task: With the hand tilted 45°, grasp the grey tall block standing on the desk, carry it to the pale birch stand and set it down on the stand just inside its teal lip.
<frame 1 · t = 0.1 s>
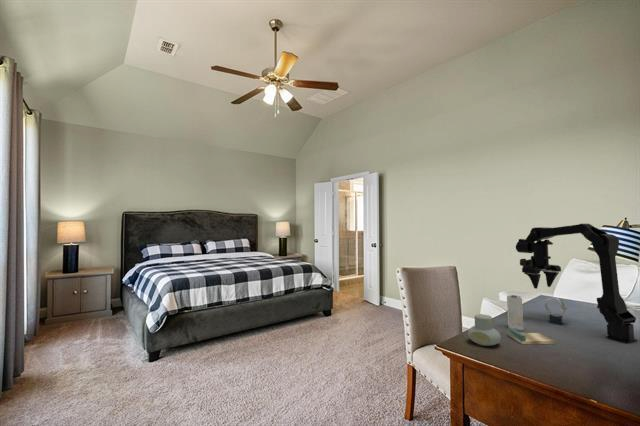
hand: (542, 287, 143), 15 cm above the table, tool pointing down, fingers open, 9 cm apart
air freshener: (484, 343, 115), on the table
watch: (556, 323, 138), on the table
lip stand: (530, 339, 118), on the table
grey tall block: (515, 327, 132), on the table
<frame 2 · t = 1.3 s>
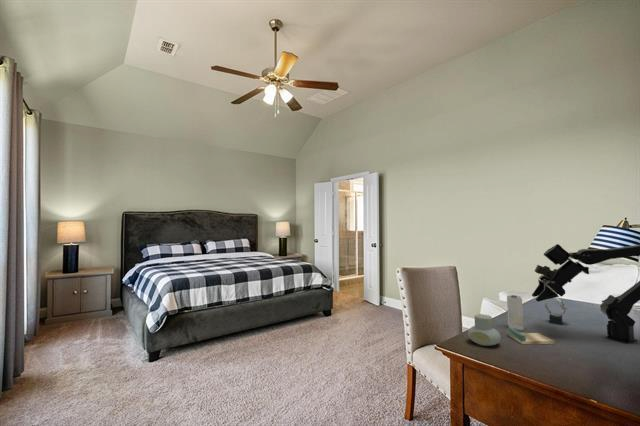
hand: (534, 298, 129), 13 cm above the table, tool tilted 45°, fingers open, 9 cm apart
nothing on the table moved.
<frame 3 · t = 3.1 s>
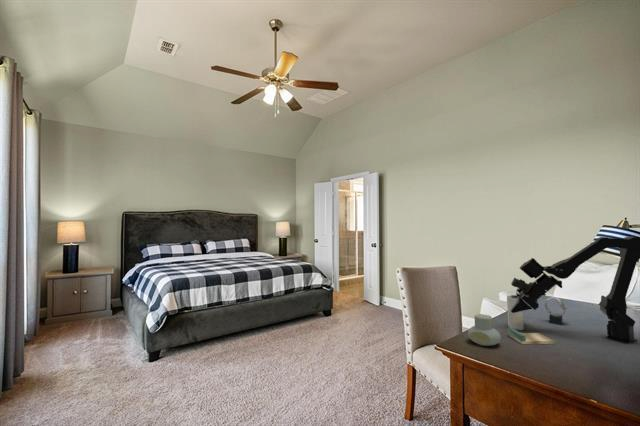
hand: (511, 310, 133), 7 cm above the table, tool tilted 45°, fingers closed on grey tall block, 5 cm apart
grey tall block: (515, 327, 132), on the table, touching gripper
everything else where it was.
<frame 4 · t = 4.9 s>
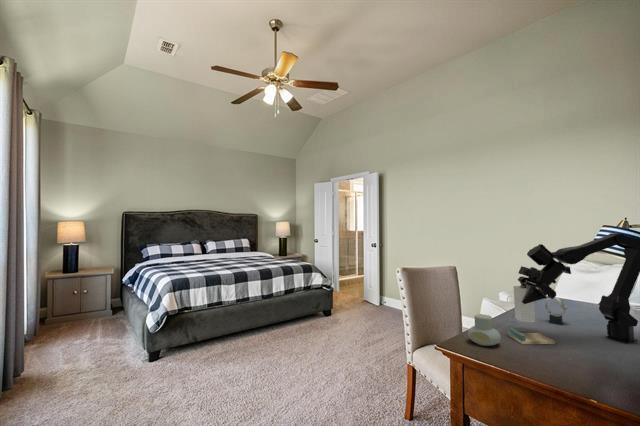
hand: (520, 301, 123), 13 cm above the table, tool tilted 45°, fingers closed on grey tall block, 5 cm apart
grey tall block: (525, 320, 122), point 6 cm above the table, touching gripper
everything else where it was.
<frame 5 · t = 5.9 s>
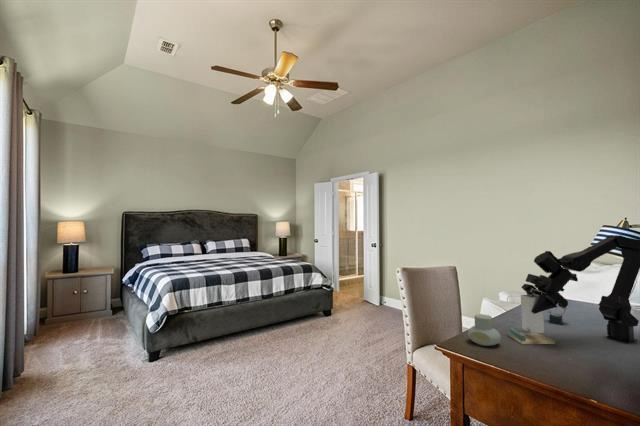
hand: (528, 310, 118), 11 cm above the table, tool tilted 45°, fingers closed on grey tall block, 5 cm apart
grey tall block: (533, 330, 118), point 3 cm above the table, touching gripper
everything else where it was.
when the fingers open (9 cm above the table, at t = 6.6 s): grey tall block stays where it is, resting on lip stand.
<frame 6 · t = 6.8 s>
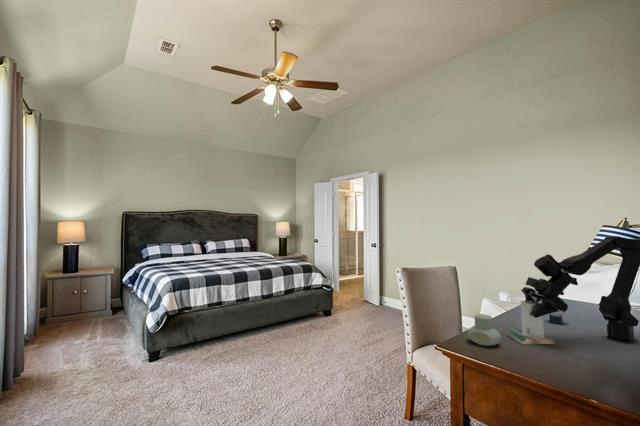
hand: (528, 314, 118), 10 cm above the table, tool tilted 45°, fingers open, 7 cm apart
grey tall block: (533, 336, 118), point 1 cm above the table, touching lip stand
everything else where it was.
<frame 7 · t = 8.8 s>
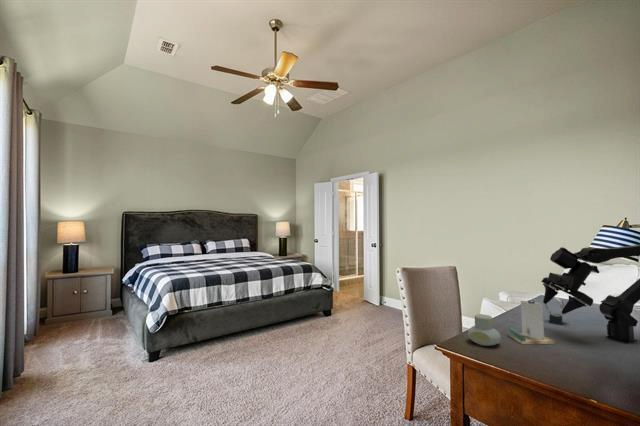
hand: (553, 308, 122), 11 cm above the table, tool tilted 35°, fingers open, 9 cm apart
nothing on the table moved.
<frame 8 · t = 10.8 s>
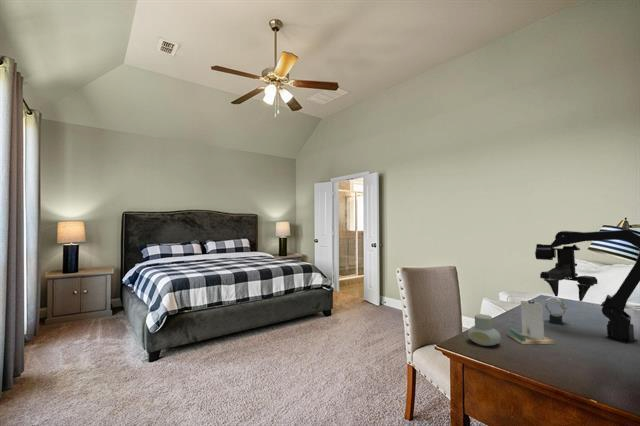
hand: (568, 298, 128), 13 cm above the table, tool pointing down, fingers open, 9 cm apart
nothing on the table moved.
at the end: grey tall block inside the target area on the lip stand (1.0 cm from its centre), point 1.0 cm above the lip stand's base; grey tall block tilted 0°; the gripper is holding nothing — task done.
